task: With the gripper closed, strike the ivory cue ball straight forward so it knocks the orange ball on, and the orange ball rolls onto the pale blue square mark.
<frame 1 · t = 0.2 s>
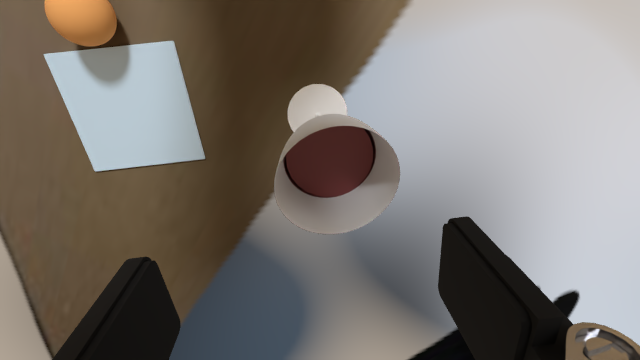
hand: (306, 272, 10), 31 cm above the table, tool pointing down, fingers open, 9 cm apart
blue mark: (131, 110, 37), on the table
wineglass: (317, 114, 40), on the table
orange ball: (82, 15, 31), on the table
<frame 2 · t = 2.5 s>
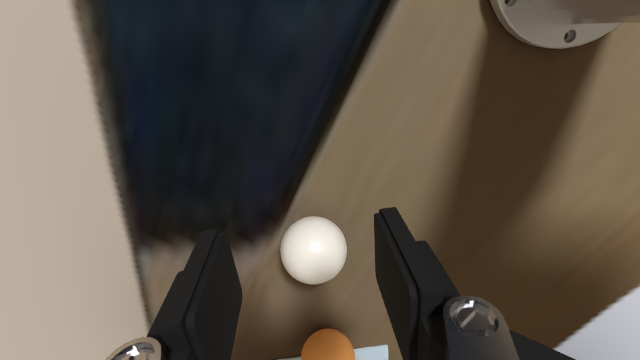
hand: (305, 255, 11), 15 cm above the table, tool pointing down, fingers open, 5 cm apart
cue ball: (313, 249, 27), on the table
orange ball: (328, 358, 33), on the table
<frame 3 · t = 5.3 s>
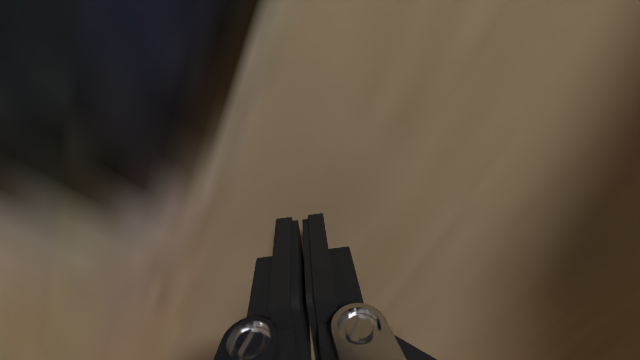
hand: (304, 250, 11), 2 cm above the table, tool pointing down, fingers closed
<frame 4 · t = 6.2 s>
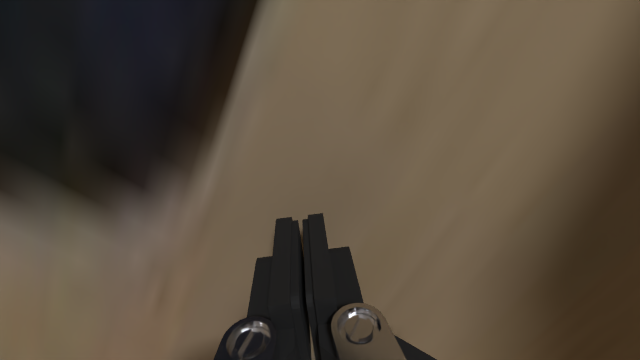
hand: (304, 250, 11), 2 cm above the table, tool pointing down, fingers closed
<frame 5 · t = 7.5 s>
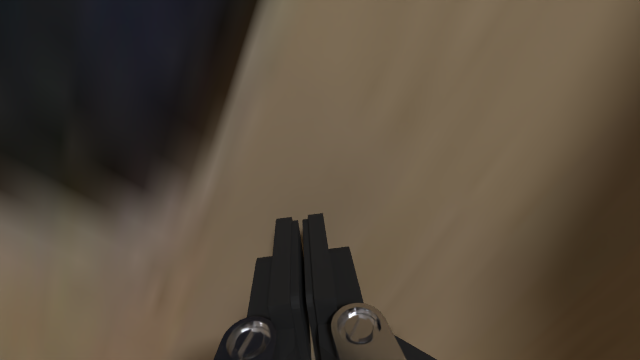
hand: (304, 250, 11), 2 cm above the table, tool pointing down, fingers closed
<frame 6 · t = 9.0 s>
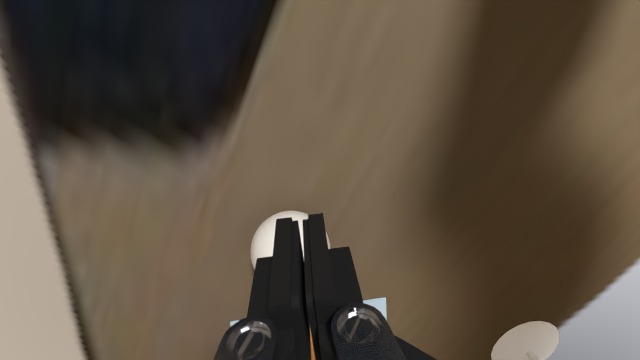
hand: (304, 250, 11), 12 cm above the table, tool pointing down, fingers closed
cue ball: (290, 250, 22), on the table
wineglass: (524, 346, 34), on the table
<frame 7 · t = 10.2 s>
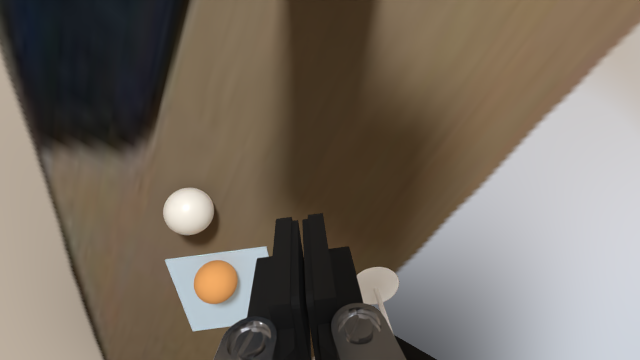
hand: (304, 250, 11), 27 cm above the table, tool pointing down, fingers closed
blue mark: (227, 290, 47), on the table
cue ball: (189, 211, 37), on the table
wineglass: (374, 285, 49), on the table
orange ball: (216, 281, 42), on the table
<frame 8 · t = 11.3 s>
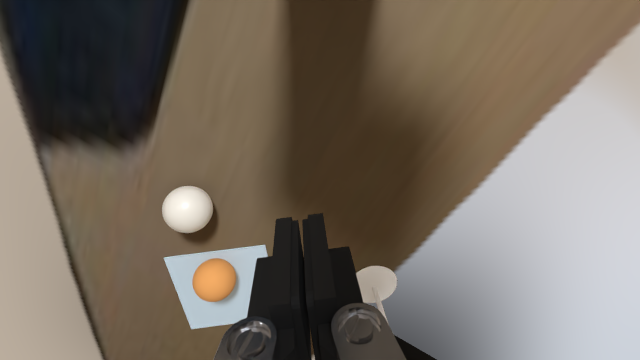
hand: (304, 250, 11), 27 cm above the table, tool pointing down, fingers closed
blue mark: (226, 288, 47), on the table
cue ball: (188, 209, 38), on the table
wineglass: (372, 284, 49), on the table
orange ball: (214, 279, 42), on the table
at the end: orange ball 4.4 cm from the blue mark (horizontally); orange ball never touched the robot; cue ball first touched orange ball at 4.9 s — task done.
